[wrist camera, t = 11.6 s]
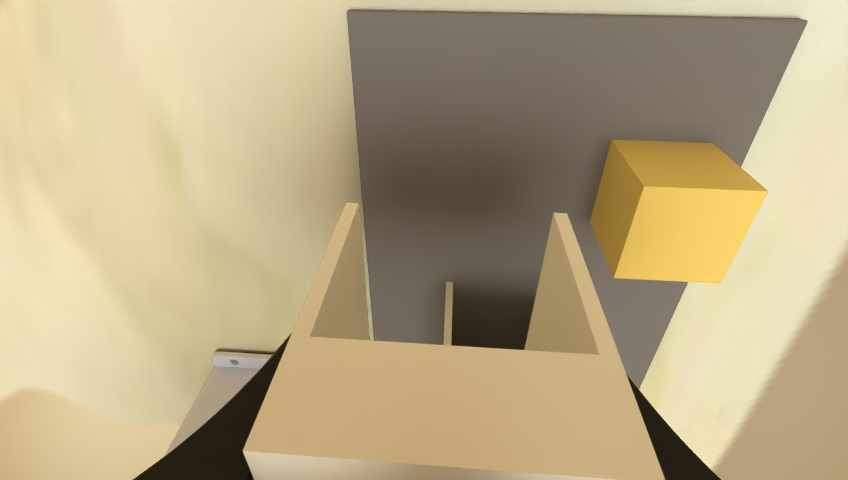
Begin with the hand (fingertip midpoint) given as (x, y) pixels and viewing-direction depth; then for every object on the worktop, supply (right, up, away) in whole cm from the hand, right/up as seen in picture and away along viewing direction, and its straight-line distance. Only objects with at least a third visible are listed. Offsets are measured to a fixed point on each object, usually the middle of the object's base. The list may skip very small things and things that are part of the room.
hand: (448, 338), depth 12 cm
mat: (+4, +2, +10) cm, 11 cm away
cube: (+9, +5, +7) cm, 13 cm away
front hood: (0, +1, +1) cm, 2 cm away
